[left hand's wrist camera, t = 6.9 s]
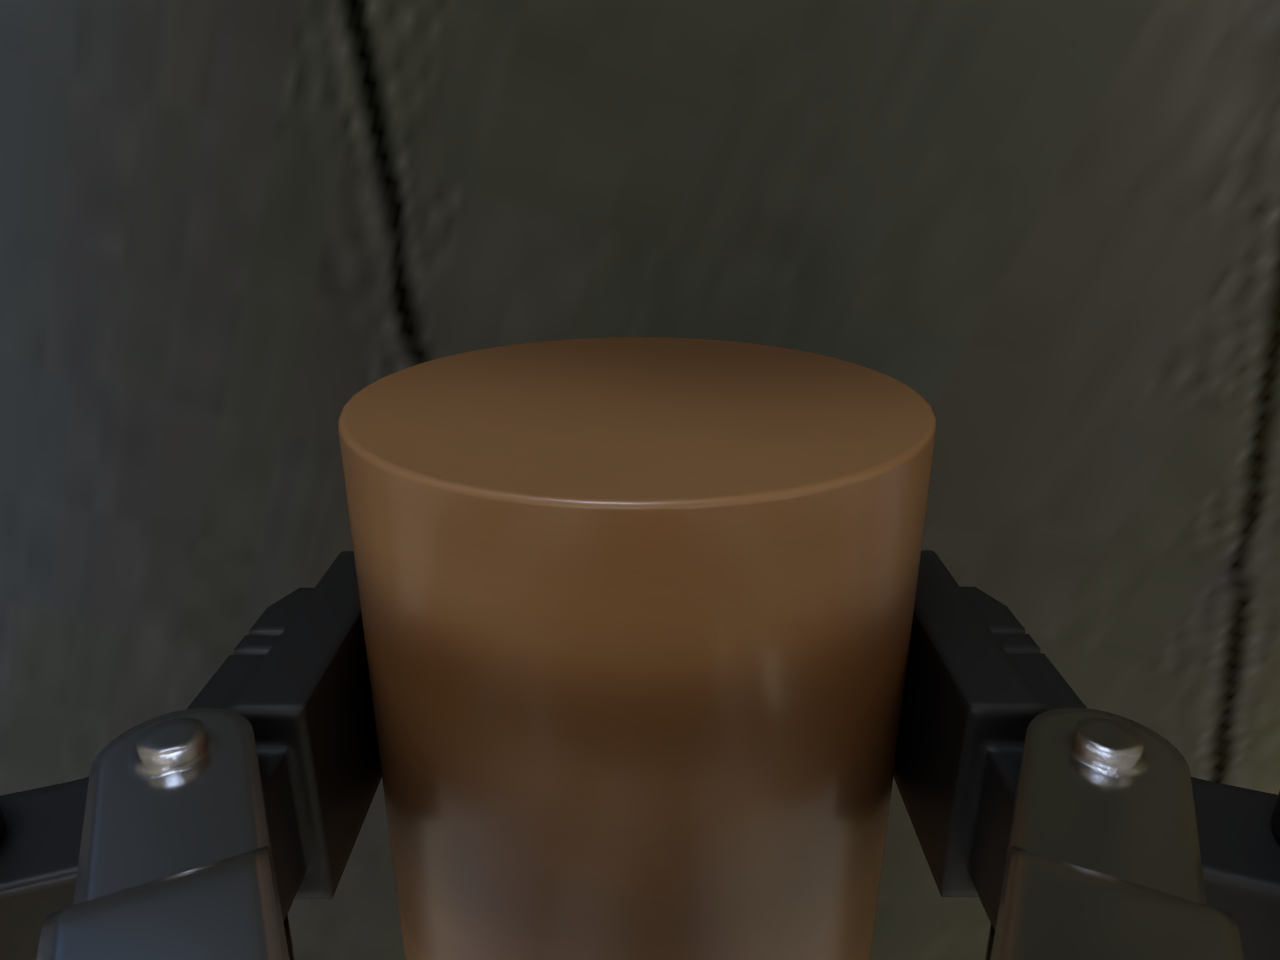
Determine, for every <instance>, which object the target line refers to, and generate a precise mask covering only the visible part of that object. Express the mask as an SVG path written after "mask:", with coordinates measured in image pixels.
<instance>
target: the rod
mask: <svg viewBox="0 0 1280 960" xmlns="http://www.w3.org/2000/svg"><path fill="white" fill-rule="evenodd" d="M936 424H937V422H936V418H935V416H934V413H933V411H932V408H931V406H930V405H929V404H928V402H927V401H926V400H925V399H924V398H923V397H922V396H921V395H920V394H919V393H917V392H916V391H915V390H913V389H912V388H910V387H909V386H907V385H905V384H903V383H902V382H900V381H898V380H896V379H894V378H892V377H890V376H887V375H885V374H882V373H880V372H877V371H875V370H872V369H870V368H867V367H864V366H861V365H858V364H854V363H851V362H848V361H844V360H840V359H836V358H833V357H829V356H825V355H820V354H815V353H810V352H806V351H800V350H794V349H789V348H783V347H777V346H769V345H761V344H754V343H745V342H735V341H725V340H711V339H697V338H673V337H603V338H579V339H565V340H551V341H541V342H531V343H522V344H515V345H507V346H499V347H493V348H487V349H481V350H475V351H470V352H465V353H461V354H456V355H451V356H447V357H443V358H439V359H435V360H431V361H428V362H424V363H421V364H418V365H415V366H412V367H409V368H406V369H403V370H401V371H398V372H396V373H393V374H391V375H388V376H386V377H383V378H381V379H379V380H378V381H376V382H374V383H372V384H370V385H368V386H366V387H365V388H363V389H362V390H361V391H359V392H358V393H357V394H355V395H354V396H353V397H352V398H351V399H350V400H349V401H348V402H347V404H346V405H345V406H344V408H343V410H342V413H341V415H340V418H339V421H338V427H339V438H340V446H341V454H342V462H343V470H344V478H345V485H346V493H347V501H348V509H349V517H350V525H351V533H352V541H353V549H354V557H355V565H356V573H357V581H358V589H359V597H360V605H361V612H362V620H363V628H364V636H365V644H366V652H367V660H368V668H369V676H370V684H371V692H372V700H373V708H374V716H375V724H376V732H377V740H378V747H379V755H380V763H381V771H382V779H383V787H384V795H385V803H386V811H387V819H388V827H389V835H390V843H391V851H392V859H393V867H394V874H395V882H396V890H397V898H398V906H399V914H400V922H401V930H402V938H403V946H404V954H405V960H870V959H871V951H872V943H873V935H874V927H875V919H876V911H877V903H878V895H879V887H880V879H881V870H882V862H883V854H884V846H885V838H886V830H887V822H888V814H889V806H890V798H891V790H892V782H893V774H894V766H895V758H896V750H897V741H898V733H899V725H900V717H901V709H902V701H903V693H904V685H905V677H906V669H907V661H908V653H909V645H910V637H911V629H912V620H913V612H914V604H915V596H916V588H917V580H918V572H919V564H920V556H921V548H922V540H923V532H924V524H925V516H926V508H927V500H928V491H929V483H930V475H931V467H932V459H933V451H934V443H935V435H936Z"/></svg>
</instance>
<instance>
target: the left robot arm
mask: <svg viewBox="0 0 1280 960" xmlns="http://www.w3.org/2000/svg"><path fill="white" fill-rule="evenodd" d="M893 776H894V779H895V781H896V784H897V786H898V789H899V791H900V794H901V796H902V799H903V801H904V804H905V806H906V809H907V811H908V814H909V816H910V819H911V821H912V824H913V826H914V829H915V831H916V834H917V837H918V839H919V842H920V844H921V847H922V849H923V852H924V854H925V857H926V859H927V862H928V864H929V867H930V869H931V872H932V874H933V877H934V879H935V882H936V884H937V887H938V889H939V892H940V894H941V897H980V900H981V902H982V904H983V906H984V909H985V911H986V913H987V915H988V917H989V920H990V922H991V926H990V931H989V937H988V942H987V948H986V955H985V960H1280V792H1279V795H1275V794H1270V793H1265V792H1260V791H1255V790H1250V789H1245V788H1240V787H1235V786H1230V785H1225V784H1220V783H1215V782H1210V781H1205V780H1201V779H1197V778H1193V777H1191V775H1190V770H1189V767H1188V764H1187V762H1186V761H1185V759H1184V757H1183V756H1182V755H1181V753H1180V752H1179V751H1178V750H1177V749H1176V748H1175V747H1174V746H1173V745H1172V744H1171V743H1170V742H1169V741H1167V740H1166V739H1165V738H1163V737H1162V736H1160V735H1159V734H1158V733H1156V732H1154V731H1152V730H1151V729H1149V728H1147V727H1145V726H1143V725H1141V724H1139V723H1137V722H1135V721H1133V720H1130V719H1127V718H1124V717H1122V716H1119V715H1115V714H1112V713H1108V712H1104V711H1099V710H1094V709H1087V708H1086V706H1085V705H1084V704H1083V703H1082V701H1081V700H1080V699H1079V698H1078V696H1077V695H1076V694H1075V692H1074V691H1073V690H1072V689H1071V687H1070V686H1069V685H1068V684H1067V682H1066V681H1065V680H1064V679H1063V677H1062V676H1061V675H1060V673H1059V672H1058V671H1057V670H1056V668H1055V667H1054V666H1053V665H1052V663H1051V662H1050V661H1049V659H1048V658H1047V657H1046V656H1045V654H1040V648H1039V647H1038V646H1037V644H1036V643H1035V642H1034V640H1033V639H1032V638H1031V637H1030V635H1029V634H1025V629H1024V628H1023V626H1022V625H1021V624H1020V623H1019V621H1018V620H1017V619H1016V618H1015V616H1014V615H1013V614H1012V613H1011V611H1010V610H1009V609H1008V607H1007V606H1005V605H1003V604H1002V603H1000V602H999V601H997V600H995V599H994V598H992V597H991V596H989V595H987V594H986V593H984V592H982V591H981V590H979V589H978V588H976V587H959V585H958V584H957V583H956V581H955V580H954V578H953V577H952V576H951V574H950V573H949V571H948V570H947V569H946V567H945V566H944V564H943V563H942V562H941V560H940V559H939V557H938V556H937V555H936V553H935V552H933V551H921V556H920V564H919V572H918V580H917V588H916V596H915V604H914V612H913V620H912V629H911V637H910V645H909V653H908V661H907V669H906V677H905V685H904V693H903V701H902V709H901V717H900V725H899V733H898V741H897V750H896V758H895V766H894V774H893ZM381 777H382V771H381V763H380V755H379V747H378V740H377V732H376V724H375V716H374V708H373V700H372V692H371V684H370V676H369V668H368V660H367V652H366V644H365V636H364V628H363V620H362V612H361V605H360V597H359V589H358V581H357V573H356V565H355V557H354V551H343V552H341V553H340V554H339V556H338V557H337V558H336V560H335V561H334V562H333V564H332V565H331V567H330V568H329V569H328V571H327V572H326V573H325V575H324V576H323V578H322V579H321V580H320V582H319V583H318V584H317V586H316V587H315V588H299V589H297V590H296V591H294V592H292V593H291V594H289V595H288V596H286V597H284V598H283V599H281V600H279V601H278V602H276V603H275V604H273V605H271V606H270V607H268V608H267V609H266V611H265V612H264V613H263V614H262V616H261V617H260V618H259V619H258V621H257V622H256V623H255V624H254V626H253V627H252V628H251V629H250V631H249V635H246V636H245V637H244V638H243V639H242V641H241V642H240V643H239V644H238V646H237V647H236V648H235V649H234V655H230V656H229V657H228V658H227V659H226V661H225V662H224V663H223V664H222V666H221V667H220V668H219V669H218V671H217V672H216V673H215V674H214V676H213V677H212V678H211V679H210V681H209V682H208V683H207V684H206V686H205V687H204V688H203V689H202V691H201V692H200V693H199V695H198V696H197V697H196V698H195V700H194V701H193V702H192V703H191V705H190V706H189V707H188V708H187V709H186V710H181V711H176V712H172V713H168V714H165V715H161V716H158V717H156V718H153V719H150V720H147V721H145V722H143V723H141V724H139V725H137V726H135V727H133V728H131V729H129V730H128V731H126V732H124V733H122V734H121V735H120V736H118V737H117V738H115V739H114V740H113V741H111V742H110V743H109V744H108V745H107V746H106V747H105V748H104V749H103V750H102V751H101V752H100V753H99V754H98V756H97V757H96V759H95V761H94V762H93V764H92V767H91V770H90V775H89V777H87V778H83V779H79V780H75V781H71V782H67V783H62V784H57V785H52V786H47V787H42V788H37V789H32V790H27V791H22V792H17V793H12V794H7V795H2V796H0V960H295V955H294V948H293V942H292V937H291V931H290V926H289V921H288V915H287V913H288V911H289V909H290V907H291V904H292V902H293V900H294V899H332V898H333V896H334V893H335V891H336V888H337V886H338V883H339V881H340V878H341V876H342V873H343V871H344V869H345V866H346V864H347V861H348V859H349V856H350V854H351V851H352V849H353V846H354V844H355V841H356V839H357V836H358V834H359V831H360V829H361V827H362V824H363V822H364V819H365V817H366V814H367V812H368V809H369V807H370V804H371V802H372V799H373V797H374V794H375V792H376V790H377V787H378V785H379V782H380V780H381Z"/></svg>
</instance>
